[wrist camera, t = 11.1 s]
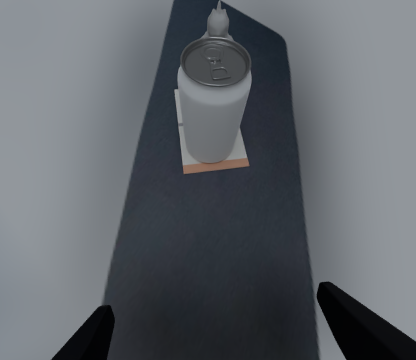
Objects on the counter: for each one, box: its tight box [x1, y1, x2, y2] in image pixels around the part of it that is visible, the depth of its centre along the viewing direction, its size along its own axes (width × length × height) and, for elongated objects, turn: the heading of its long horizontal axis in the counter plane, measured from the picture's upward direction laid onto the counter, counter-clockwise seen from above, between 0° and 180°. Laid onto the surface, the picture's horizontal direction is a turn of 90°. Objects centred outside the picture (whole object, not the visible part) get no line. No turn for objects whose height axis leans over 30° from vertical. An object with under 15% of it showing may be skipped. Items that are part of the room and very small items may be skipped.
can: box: [178, 37, 251, 163], centre depth 21 cm, size 6×6×12 cm
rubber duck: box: [201, 0, 233, 40], centre depth 29 cm, size 5×7×8 cm
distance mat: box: [175, 89, 249, 174], centre depth 28 cm, size 14×8×1 cm, turn 8°
